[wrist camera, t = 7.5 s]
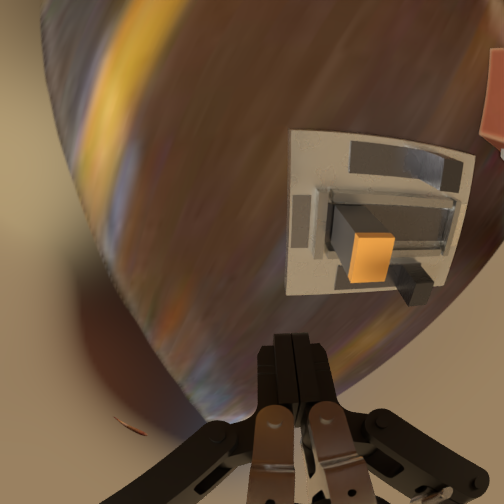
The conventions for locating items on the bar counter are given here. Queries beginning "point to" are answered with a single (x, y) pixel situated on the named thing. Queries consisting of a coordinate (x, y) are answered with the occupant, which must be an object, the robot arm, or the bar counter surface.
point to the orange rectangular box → (494, 102)
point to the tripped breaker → (361, 244)
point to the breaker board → (374, 208)
